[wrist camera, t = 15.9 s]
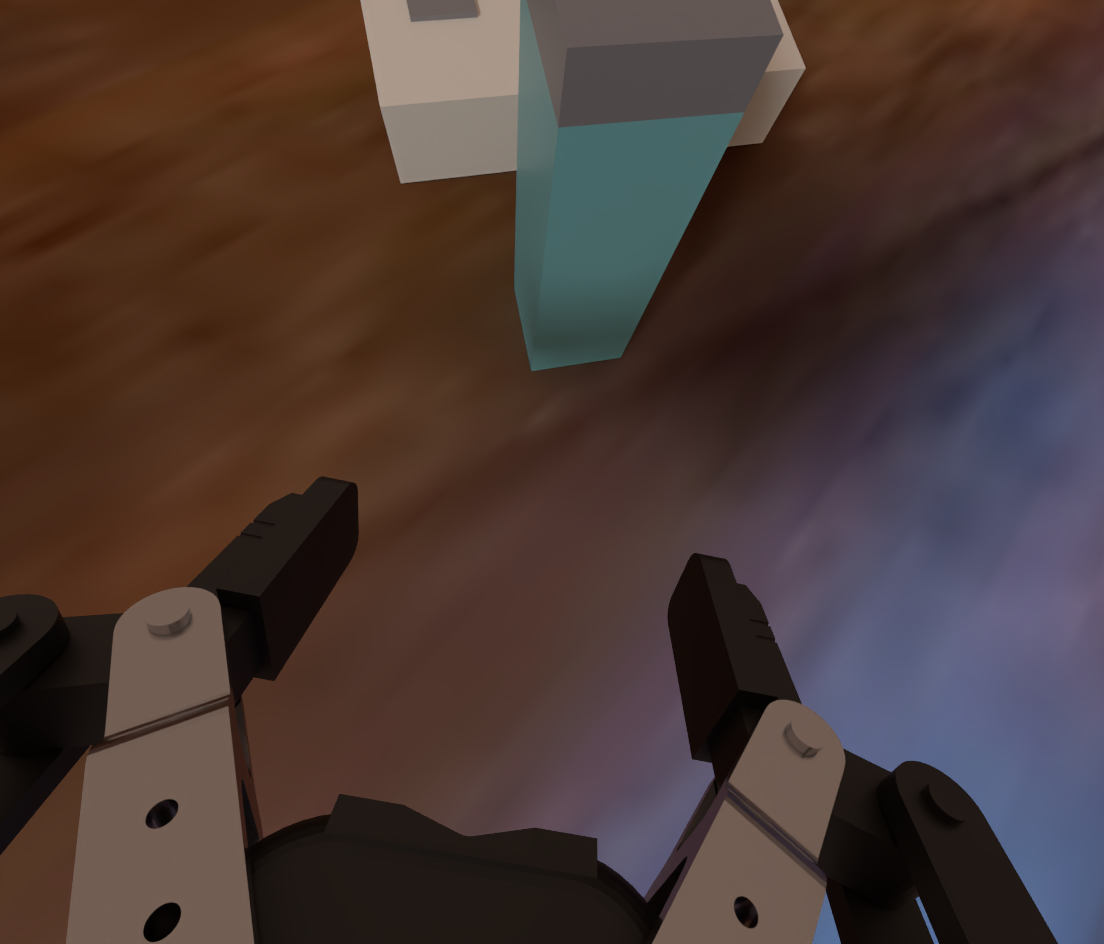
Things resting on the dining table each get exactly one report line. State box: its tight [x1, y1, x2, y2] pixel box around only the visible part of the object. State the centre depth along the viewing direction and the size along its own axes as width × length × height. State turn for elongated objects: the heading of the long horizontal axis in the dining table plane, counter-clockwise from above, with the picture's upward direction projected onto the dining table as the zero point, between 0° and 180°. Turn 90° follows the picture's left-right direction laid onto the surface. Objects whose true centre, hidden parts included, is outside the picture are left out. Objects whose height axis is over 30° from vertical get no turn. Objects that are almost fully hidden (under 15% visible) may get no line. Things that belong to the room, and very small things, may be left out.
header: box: [361, 0, 806, 183], centre depth 25 cm, size 20×12×4 cm, turn 103°
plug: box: [514, 0, 784, 371], centre depth 16 cm, size 4×4×14 cm
